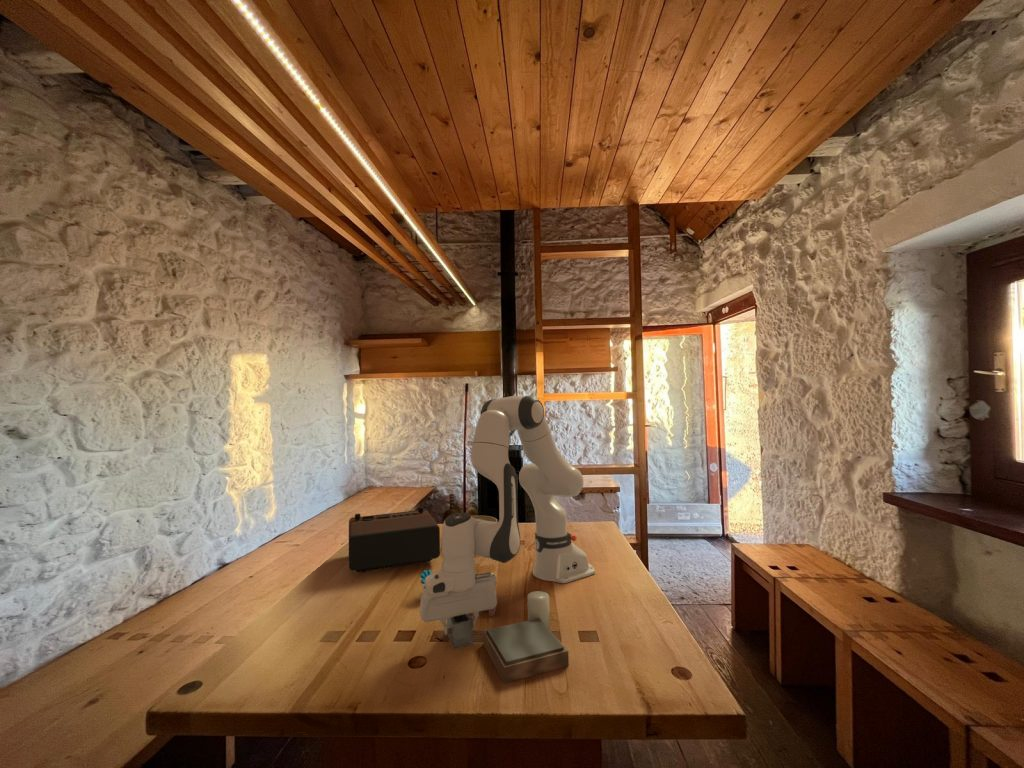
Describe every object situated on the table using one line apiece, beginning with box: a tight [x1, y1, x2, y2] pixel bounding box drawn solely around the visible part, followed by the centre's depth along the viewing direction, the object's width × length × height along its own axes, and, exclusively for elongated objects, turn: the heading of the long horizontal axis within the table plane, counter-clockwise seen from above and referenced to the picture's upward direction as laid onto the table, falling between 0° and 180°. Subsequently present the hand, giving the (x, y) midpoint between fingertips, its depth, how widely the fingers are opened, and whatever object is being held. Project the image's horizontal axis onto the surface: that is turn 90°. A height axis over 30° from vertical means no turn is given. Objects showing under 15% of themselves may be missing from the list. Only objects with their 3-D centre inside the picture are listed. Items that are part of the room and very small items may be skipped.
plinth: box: [482, 618, 570, 684], centre depth 104 cm, size 16×16×4 cm
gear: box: [419, 569, 435, 590], centre depth 138 cm, size 11×6×10 cm
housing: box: [446, 613, 474, 650], centre depth 112 cm, size 5×8×6 cm, turn 21°
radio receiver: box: [348, 506, 441, 573], centre depth 169 cm, size 35×27×18 cm
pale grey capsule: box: [527, 590, 551, 629], centre depth 118 cm, size 6×6×8 cm
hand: (459, 630), depth 112 cm, fingers closed on housing, 5 cm apart
